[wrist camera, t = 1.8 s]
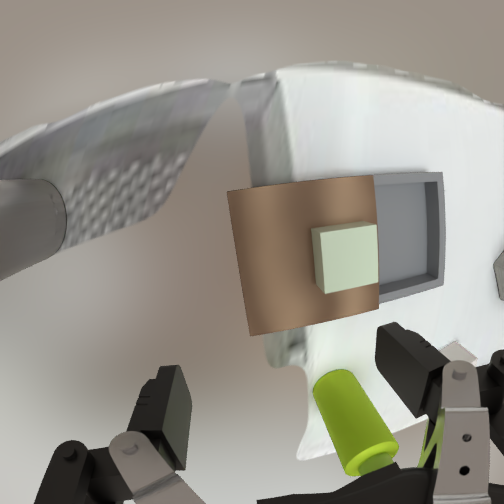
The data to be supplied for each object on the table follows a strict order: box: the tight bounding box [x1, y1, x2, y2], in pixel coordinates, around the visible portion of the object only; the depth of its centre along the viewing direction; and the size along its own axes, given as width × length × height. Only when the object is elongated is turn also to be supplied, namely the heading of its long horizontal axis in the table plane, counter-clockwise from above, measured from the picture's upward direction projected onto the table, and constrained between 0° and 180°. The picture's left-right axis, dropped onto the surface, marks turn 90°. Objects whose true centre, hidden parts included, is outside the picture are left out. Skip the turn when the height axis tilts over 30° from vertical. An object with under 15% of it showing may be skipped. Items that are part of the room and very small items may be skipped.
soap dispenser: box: [313, 370, 399, 476], centre depth 23 cm, size 6×7×20 cm
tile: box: [311, 221, 378, 294], centre depth 23 cm, size 5×5×2 cm
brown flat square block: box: [227, 175, 379, 336], centre depth 26 cm, size 13×13×4 cm
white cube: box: [440, 341, 478, 367], centre depth 31 cm, size 6×6×6 cm
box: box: [365, 172, 446, 304], centre depth 27 cm, size 10×13×3 cm
